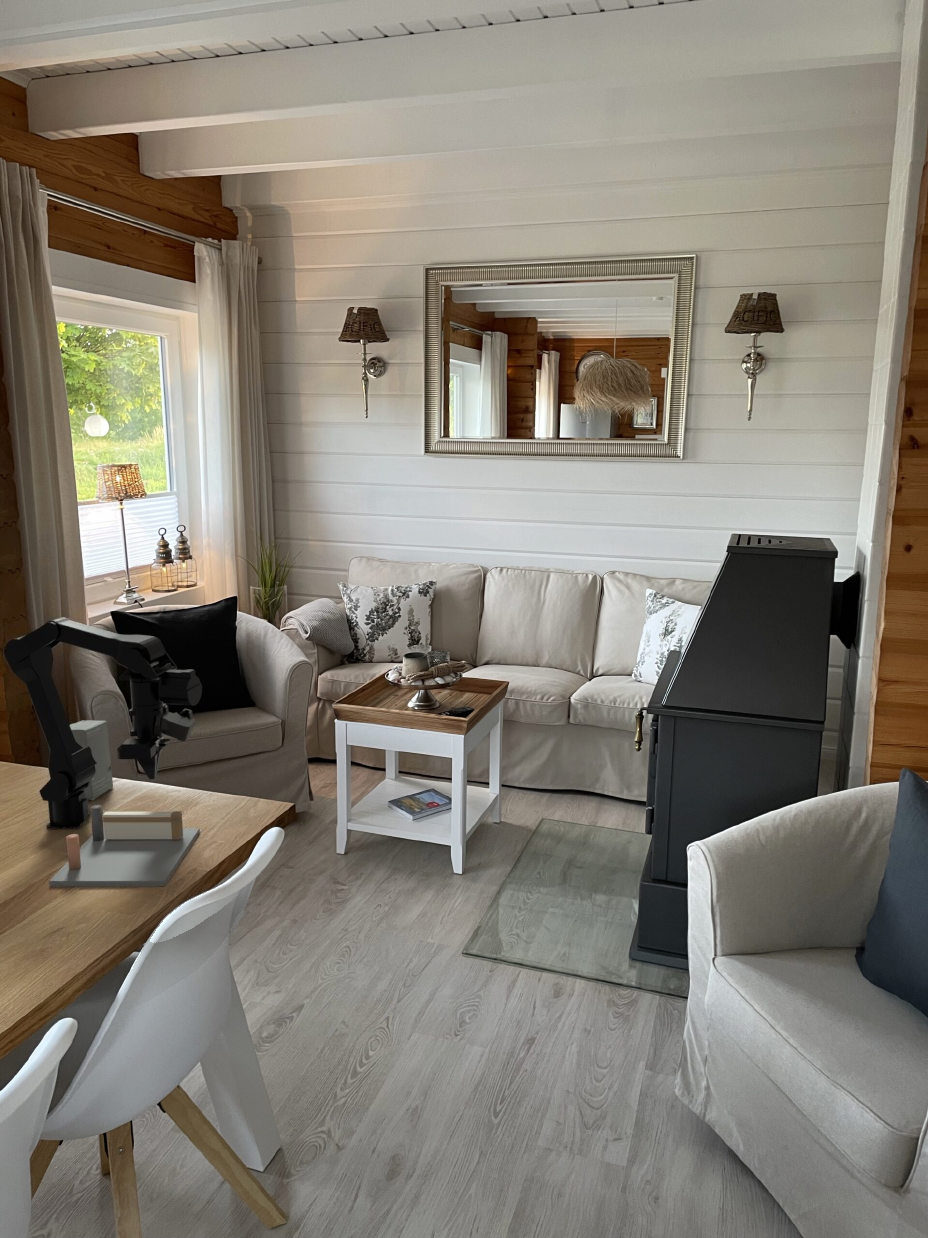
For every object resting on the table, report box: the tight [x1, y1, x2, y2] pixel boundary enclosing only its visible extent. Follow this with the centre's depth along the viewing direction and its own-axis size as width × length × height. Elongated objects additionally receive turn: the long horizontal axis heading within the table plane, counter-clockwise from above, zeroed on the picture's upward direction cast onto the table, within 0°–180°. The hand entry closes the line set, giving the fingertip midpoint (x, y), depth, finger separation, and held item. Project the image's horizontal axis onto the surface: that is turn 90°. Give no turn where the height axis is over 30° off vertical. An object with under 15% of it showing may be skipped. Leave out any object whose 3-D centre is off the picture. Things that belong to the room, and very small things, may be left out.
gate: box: [102, 810, 184, 839], centre depth 174 cm, size 14×2×5 cm, turn 90°
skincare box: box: [69, 719, 114, 801], centre depth 198 cm, size 8×7×16 cm
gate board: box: [49, 804, 201, 887], centre depth 168 cm, size 20×22×8 cm
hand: (152, 778), depth 178 cm, fingers closed
